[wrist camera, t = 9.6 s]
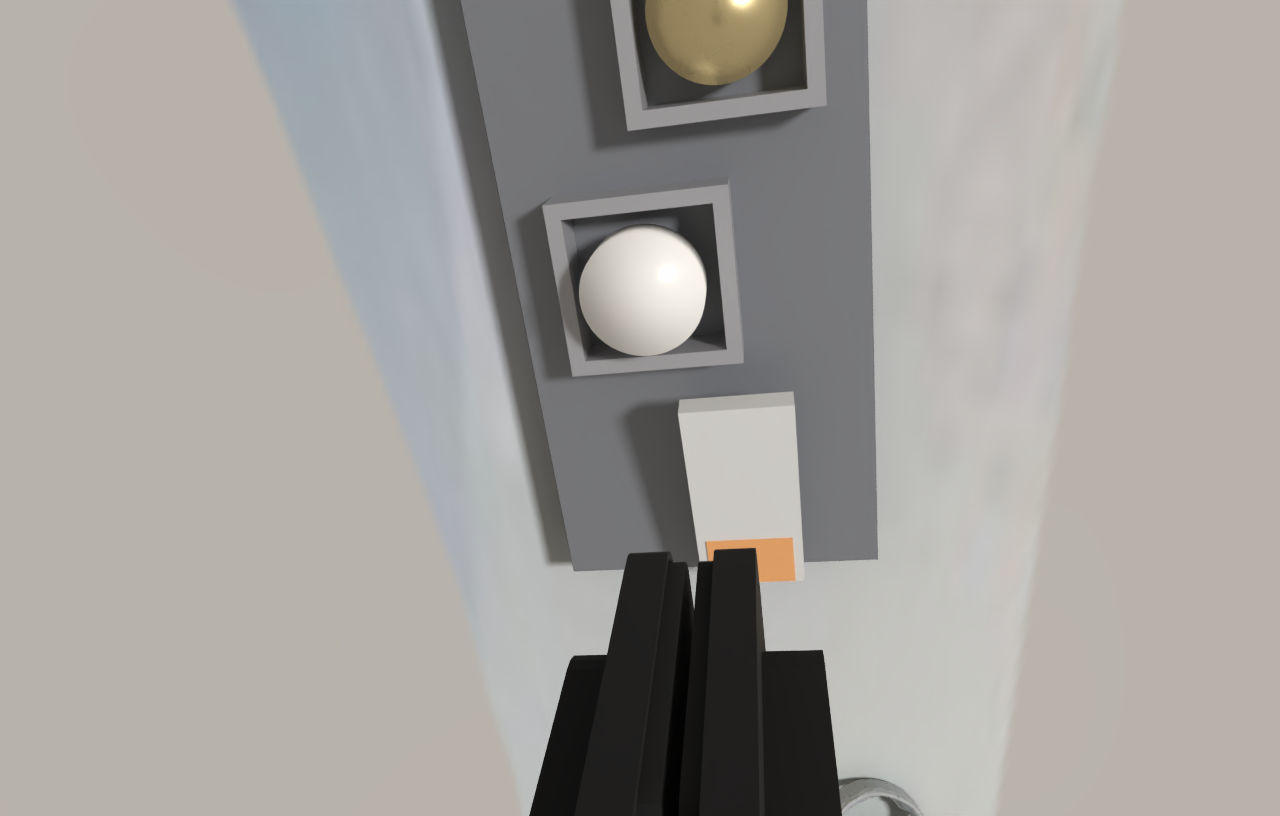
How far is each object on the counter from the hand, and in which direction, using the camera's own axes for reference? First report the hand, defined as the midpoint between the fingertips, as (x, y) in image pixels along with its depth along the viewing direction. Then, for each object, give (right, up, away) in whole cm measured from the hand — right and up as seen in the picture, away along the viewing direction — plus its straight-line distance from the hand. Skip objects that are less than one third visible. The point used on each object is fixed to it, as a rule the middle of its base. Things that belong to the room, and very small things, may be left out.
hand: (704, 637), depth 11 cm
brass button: (+2, +17, +17) cm, 24 cm away
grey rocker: (+3, 0, +23) cm, 24 cm away
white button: (-1, +8, +20) cm, 22 cm away
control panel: (+1, +9, +23) cm, 25 cm away
